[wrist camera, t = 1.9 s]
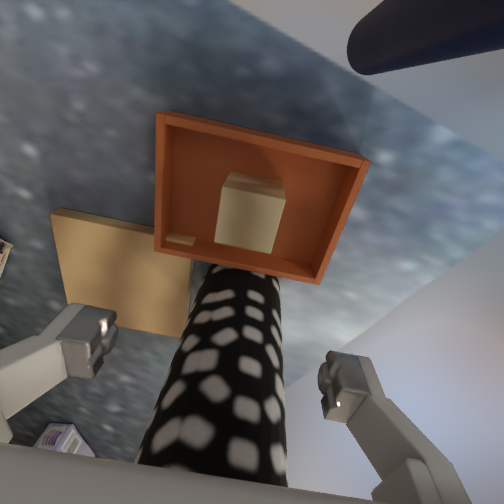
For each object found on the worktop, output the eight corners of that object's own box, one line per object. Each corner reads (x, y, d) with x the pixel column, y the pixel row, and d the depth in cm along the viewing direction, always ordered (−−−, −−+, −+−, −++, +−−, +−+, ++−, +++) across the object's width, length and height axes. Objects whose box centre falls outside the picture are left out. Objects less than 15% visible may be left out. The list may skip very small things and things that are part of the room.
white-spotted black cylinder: (191, 299, 30) (82, 576, 13) (221, 242, 26) (122, 531, 9) (256, 327, 31) (239, 608, 14) (294, 277, 28) (333, 581, 10)
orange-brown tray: (360, 154, 21) (371, 161, 19) (315, 268, 27) (319, 285, 24) (169, 110, 20) (155, 112, 18) (164, 237, 26) (153, 251, 24)
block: (283, 181, 22) (286, 199, 18) (270, 229, 25) (270, 254, 21) (230, 169, 22) (221, 185, 18) (222, 219, 24) (213, 242, 21)
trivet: (196, 235, 26) (192, 243, 24) (186, 329, 32) (183, 338, 31) (60, 207, 25) (48, 213, 24) (78, 308, 32) (70, 317, 30)
